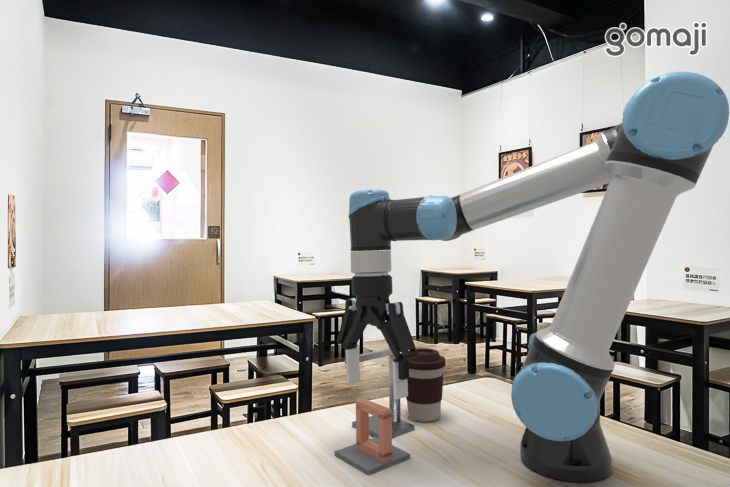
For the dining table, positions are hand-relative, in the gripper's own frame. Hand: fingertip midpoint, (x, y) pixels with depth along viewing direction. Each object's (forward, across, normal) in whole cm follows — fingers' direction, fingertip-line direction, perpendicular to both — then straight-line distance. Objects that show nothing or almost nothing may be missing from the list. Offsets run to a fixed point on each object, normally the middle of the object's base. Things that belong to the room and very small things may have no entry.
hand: (375, 389), depth 88 cm
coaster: (+13, +1, 0) cm, 13 cm away
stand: (+13, +10, -8) cm, 18 cm away
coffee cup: (+13, +9, -22) cm, 27 cm away
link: (+12, +1, 0) cm, 12 cm away
